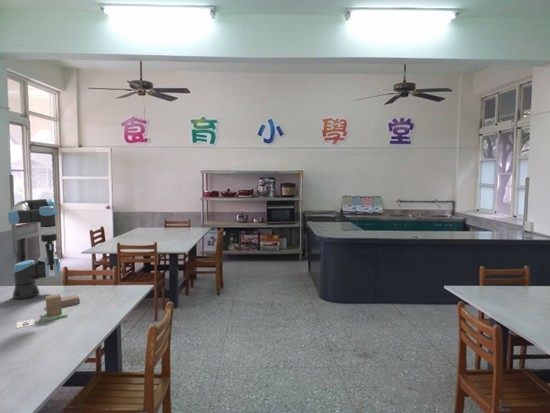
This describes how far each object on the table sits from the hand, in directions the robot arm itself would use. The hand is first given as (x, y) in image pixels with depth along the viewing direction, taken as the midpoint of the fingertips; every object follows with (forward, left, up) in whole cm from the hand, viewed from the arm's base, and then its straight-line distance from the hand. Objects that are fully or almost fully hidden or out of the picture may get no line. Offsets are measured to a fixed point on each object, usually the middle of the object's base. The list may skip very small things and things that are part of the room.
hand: (51, 274), depth 219 cm
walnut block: (0, 0, -23) cm, 23 cm away
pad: (0, 0, -24) cm, 24 cm away
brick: (-19, +7, -25) cm, 32 cm away
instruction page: (+4, -14, -24) cm, 28 cm away
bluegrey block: (0, 0, -1) cm, 1 cm away
